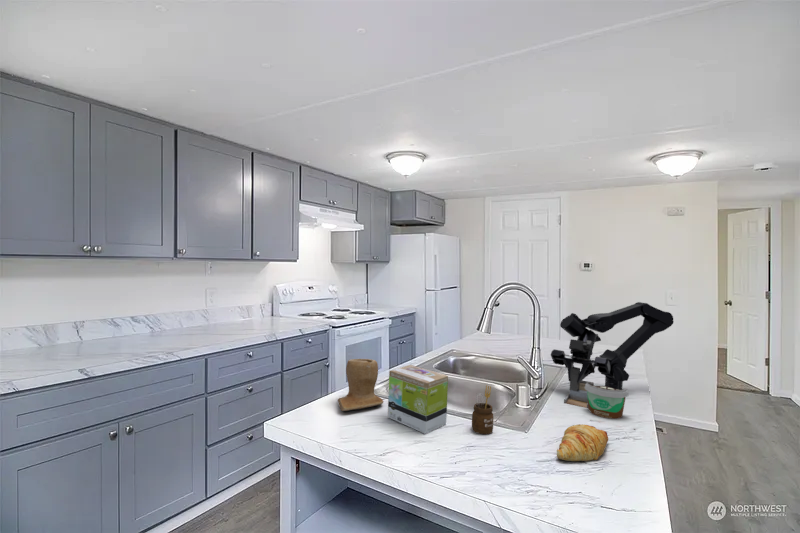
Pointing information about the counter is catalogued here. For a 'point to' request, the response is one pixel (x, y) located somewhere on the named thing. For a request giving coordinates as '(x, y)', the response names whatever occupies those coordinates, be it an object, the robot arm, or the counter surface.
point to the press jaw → (576, 386)
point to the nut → (582, 387)
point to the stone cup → (360, 385)
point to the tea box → (418, 398)
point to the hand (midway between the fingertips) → (573, 381)
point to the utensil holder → (483, 416)
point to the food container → (606, 401)
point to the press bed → (576, 402)
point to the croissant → (582, 443)
